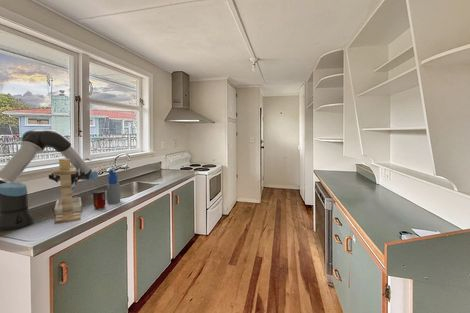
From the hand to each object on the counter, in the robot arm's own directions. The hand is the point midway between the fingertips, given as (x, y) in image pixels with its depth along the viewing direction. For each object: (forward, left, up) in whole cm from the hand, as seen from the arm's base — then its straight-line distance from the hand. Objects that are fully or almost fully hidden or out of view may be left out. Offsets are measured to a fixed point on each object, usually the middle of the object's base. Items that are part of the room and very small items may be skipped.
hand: (66, 171), depth 151 cm
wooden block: (+5, -14, +4) cm, 15 cm away
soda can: (+19, -2, -26) cm, 33 cm away
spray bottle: (+25, +10, -26) cm, 38 cm away
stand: (+7, -20, -26) cm, 34 cm away
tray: (0, +1, -26) cm, 26 cm away
